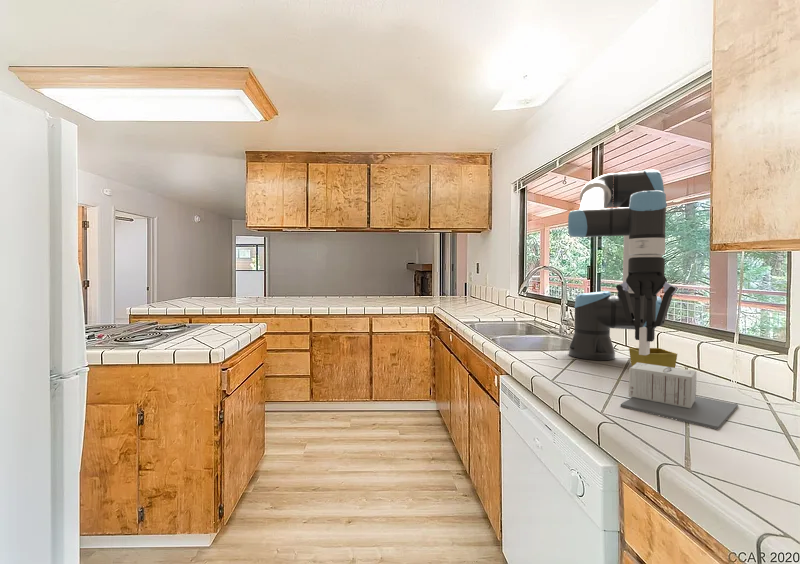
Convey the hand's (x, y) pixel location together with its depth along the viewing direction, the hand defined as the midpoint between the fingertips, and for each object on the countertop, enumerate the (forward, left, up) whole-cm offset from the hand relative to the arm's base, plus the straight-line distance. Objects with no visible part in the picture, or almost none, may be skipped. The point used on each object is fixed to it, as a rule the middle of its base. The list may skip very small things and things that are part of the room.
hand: (644, 354), depth 99 cm
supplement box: (0, -3, -7) cm, 7 cm away
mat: (0, +7, -11) cm, 13 cm away
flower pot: (-18, -4, -11) cm, 22 cm away
